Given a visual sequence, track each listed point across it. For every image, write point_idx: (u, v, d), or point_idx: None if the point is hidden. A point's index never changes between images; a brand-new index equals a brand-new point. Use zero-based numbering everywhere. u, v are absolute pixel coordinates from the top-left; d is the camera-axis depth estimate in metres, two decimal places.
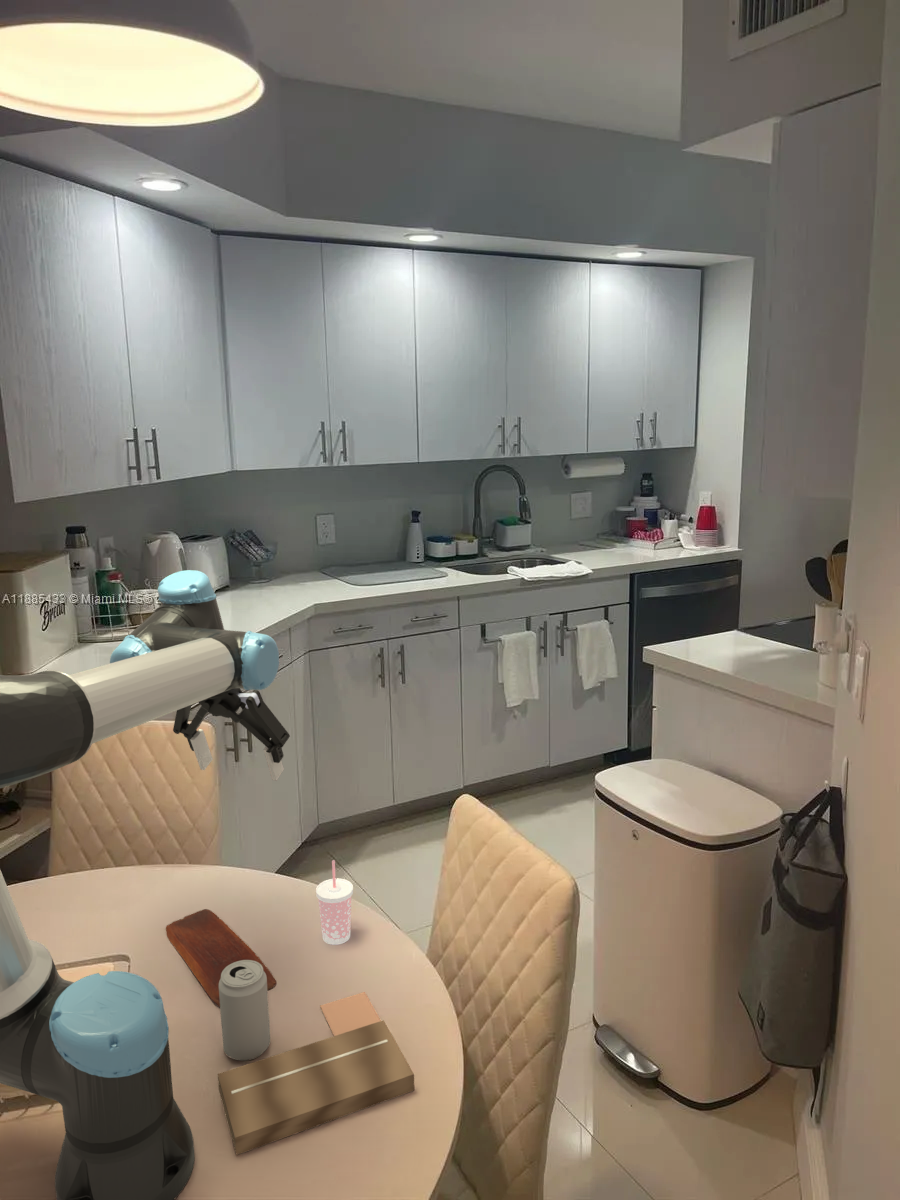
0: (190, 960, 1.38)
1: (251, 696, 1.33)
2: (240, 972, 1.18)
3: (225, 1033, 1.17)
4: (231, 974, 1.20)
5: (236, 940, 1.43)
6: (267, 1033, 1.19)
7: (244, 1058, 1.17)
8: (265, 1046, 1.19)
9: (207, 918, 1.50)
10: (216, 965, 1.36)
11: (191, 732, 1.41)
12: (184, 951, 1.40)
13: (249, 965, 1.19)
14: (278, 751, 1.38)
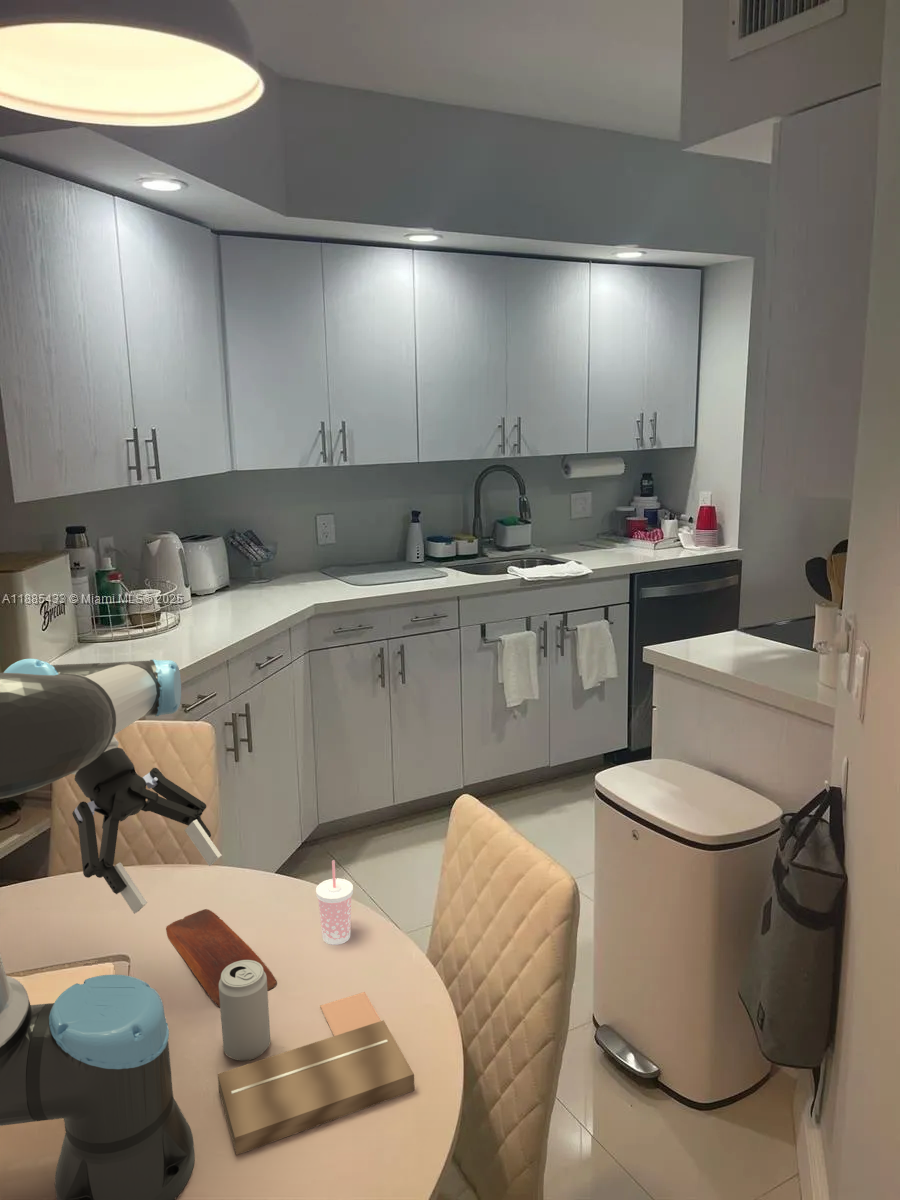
0: (190, 960, 1.38)
1: None
2: (240, 972, 1.18)
3: (225, 1033, 1.17)
4: (231, 974, 1.20)
5: (236, 940, 1.43)
6: (267, 1033, 1.19)
7: (244, 1058, 1.17)
8: (265, 1046, 1.19)
9: (207, 918, 1.50)
10: (217, 965, 1.36)
11: (113, 854, 1.16)
12: (184, 951, 1.40)
13: (249, 965, 1.19)
14: None
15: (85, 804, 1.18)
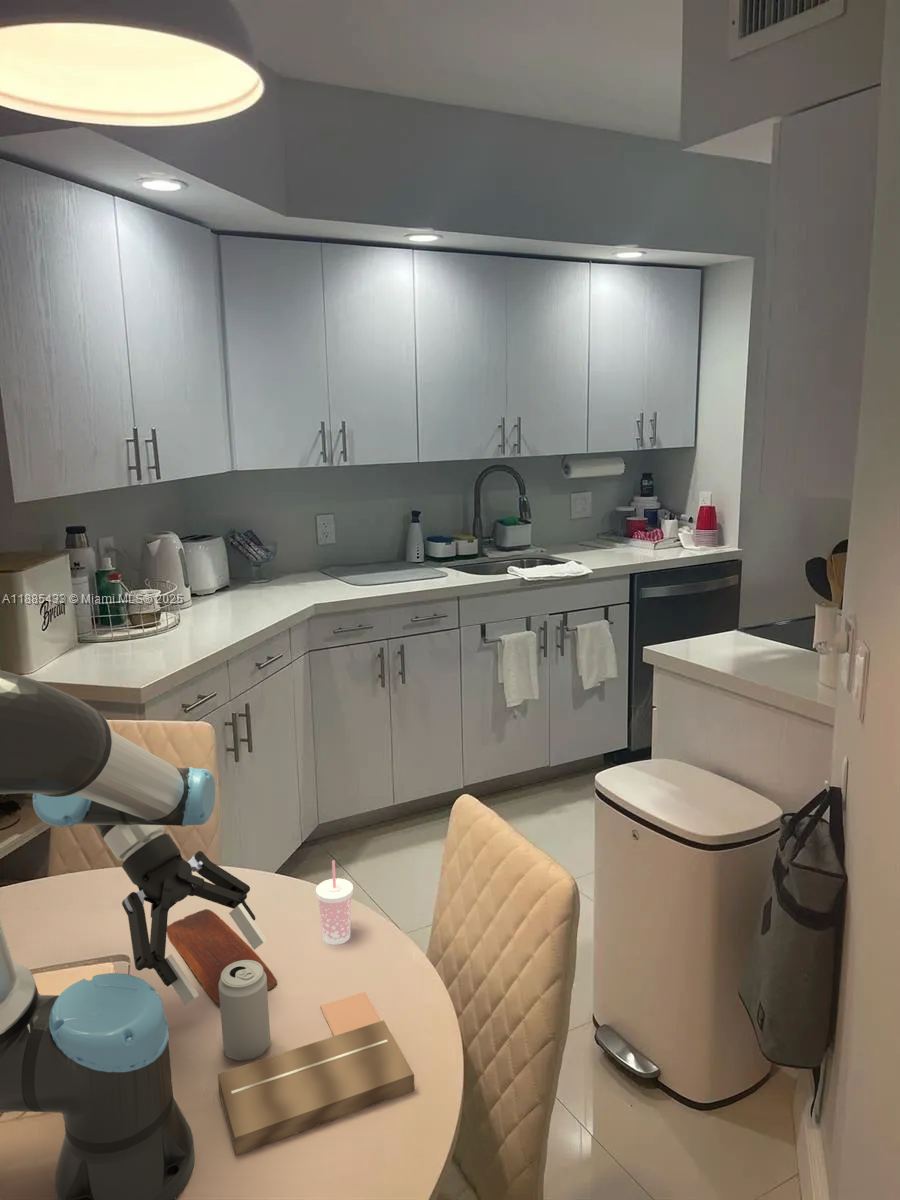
0: (191, 960, 1.38)
1: None
2: (240, 972, 1.18)
3: (225, 1033, 1.17)
4: (230, 974, 1.20)
5: (237, 940, 1.43)
6: (267, 1033, 1.19)
7: (244, 1058, 1.17)
8: (265, 1046, 1.19)
9: (208, 918, 1.50)
10: (217, 965, 1.36)
11: (164, 945, 1.17)
12: (185, 951, 1.40)
13: (249, 965, 1.19)
14: None
15: (135, 895, 1.18)
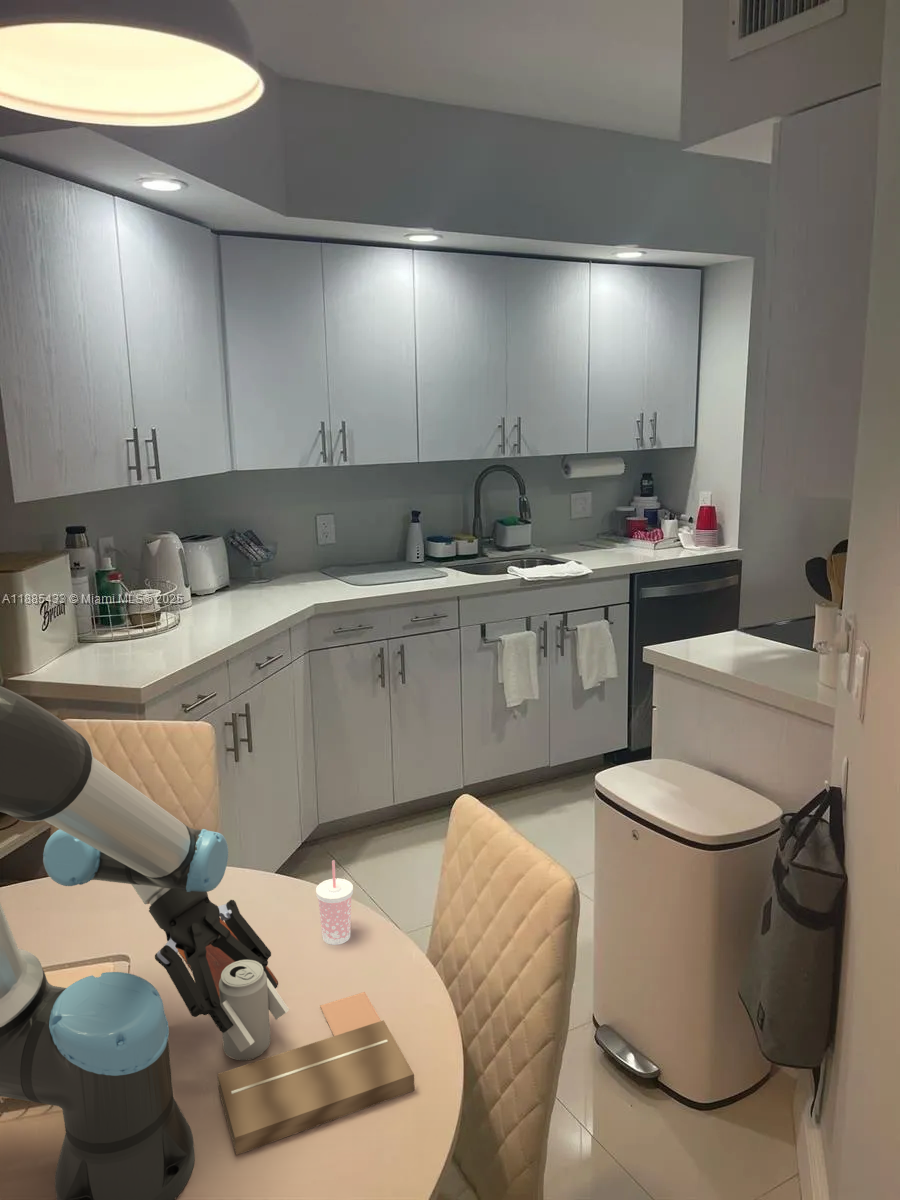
0: None
1: None
2: (240, 972, 1.18)
3: (225, 1032, 1.17)
4: (231, 974, 1.21)
5: None
6: (267, 1033, 1.19)
7: (244, 1058, 1.17)
8: (265, 1046, 1.19)
9: None
10: (218, 965, 1.36)
11: (215, 990, 1.16)
12: None
13: (249, 965, 1.19)
14: None
15: (168, 948, 1.15)
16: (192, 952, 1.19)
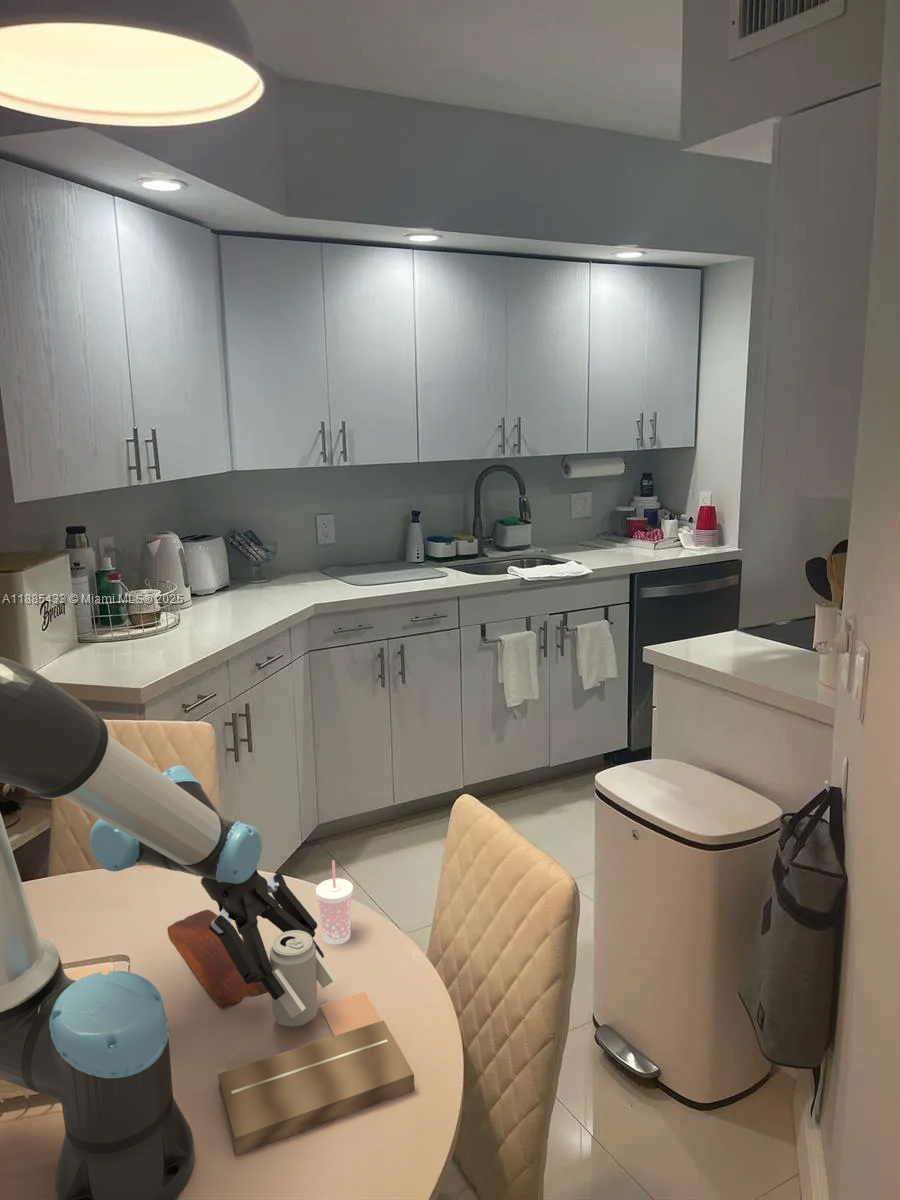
0: (192, 961, 1.38)
1: None
2: (290, 942, 1.22)
3: (275, 1000, 1.21)
4: (280, 944, 1.24)
5: None
6: (315, 1000, 1.23)
7: (294, 1024, 1.21)
8: (313, 1013, 1.23)
9: (208, 919, 1.50)
10: (218, 965, 1.36)
11: (267, 959, 1.20)
12: (186, 952, 1.40)
13: (298, 935, 1.23)
14: (315, 944, 1.27)
15: (222, 917, 1.19)
16: (243, 922, 1.22)
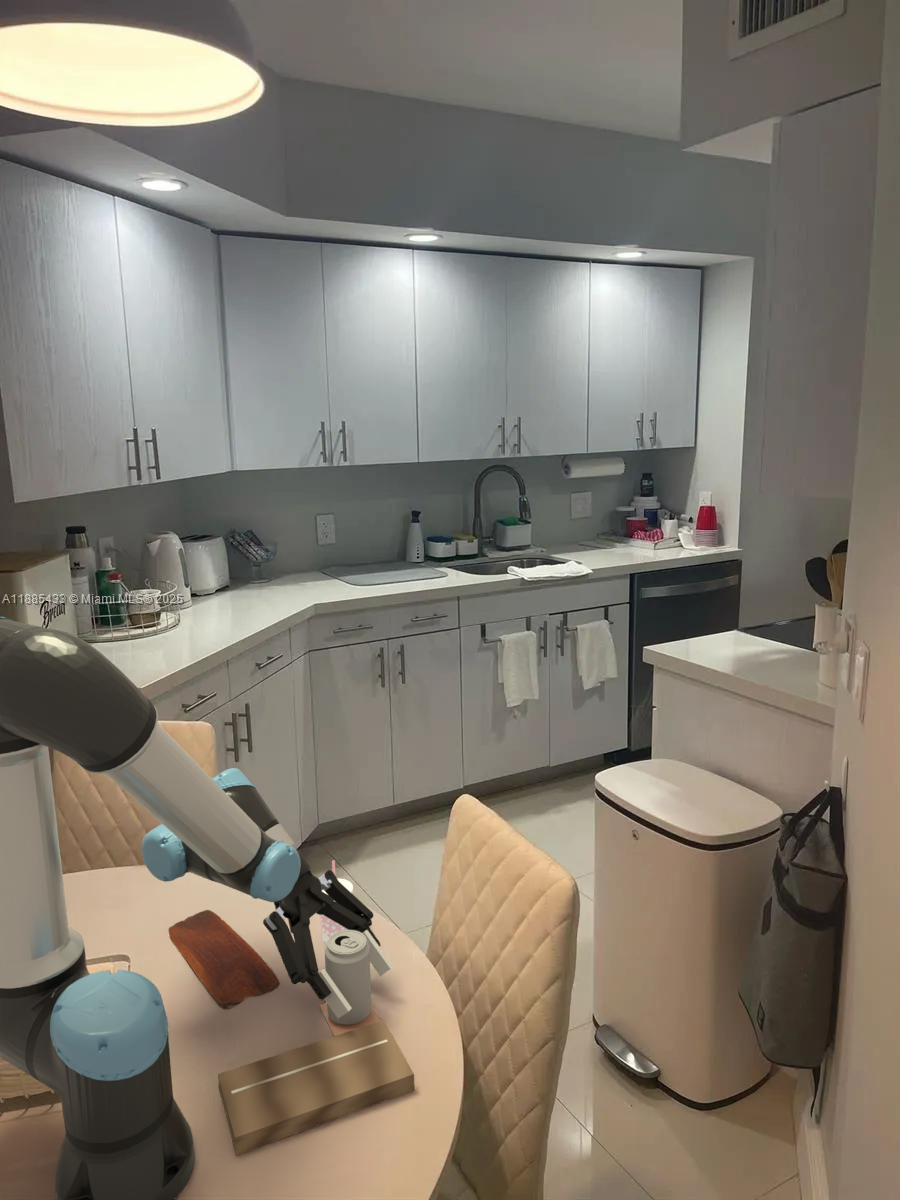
0: (193, 961, 1.38)
1: (326, 872, 1.32)
2: (345, 941, 1.24)
3: None
4: None
5: (238, 940, 1.43)
6: (369, 999, 1.25)
7: (349, 1022, 1.23)
8: (368, 1011, 1.25)
9: (209, 919, 1.49)
10: (219, 966, 1.36)
11: (314, 959, 1.21)
12: (186, 952, 1.40)
13: (352, 934, 1.25)
14: None
15: (276, 914, 1.21)
16: (296, 922, 1.24)
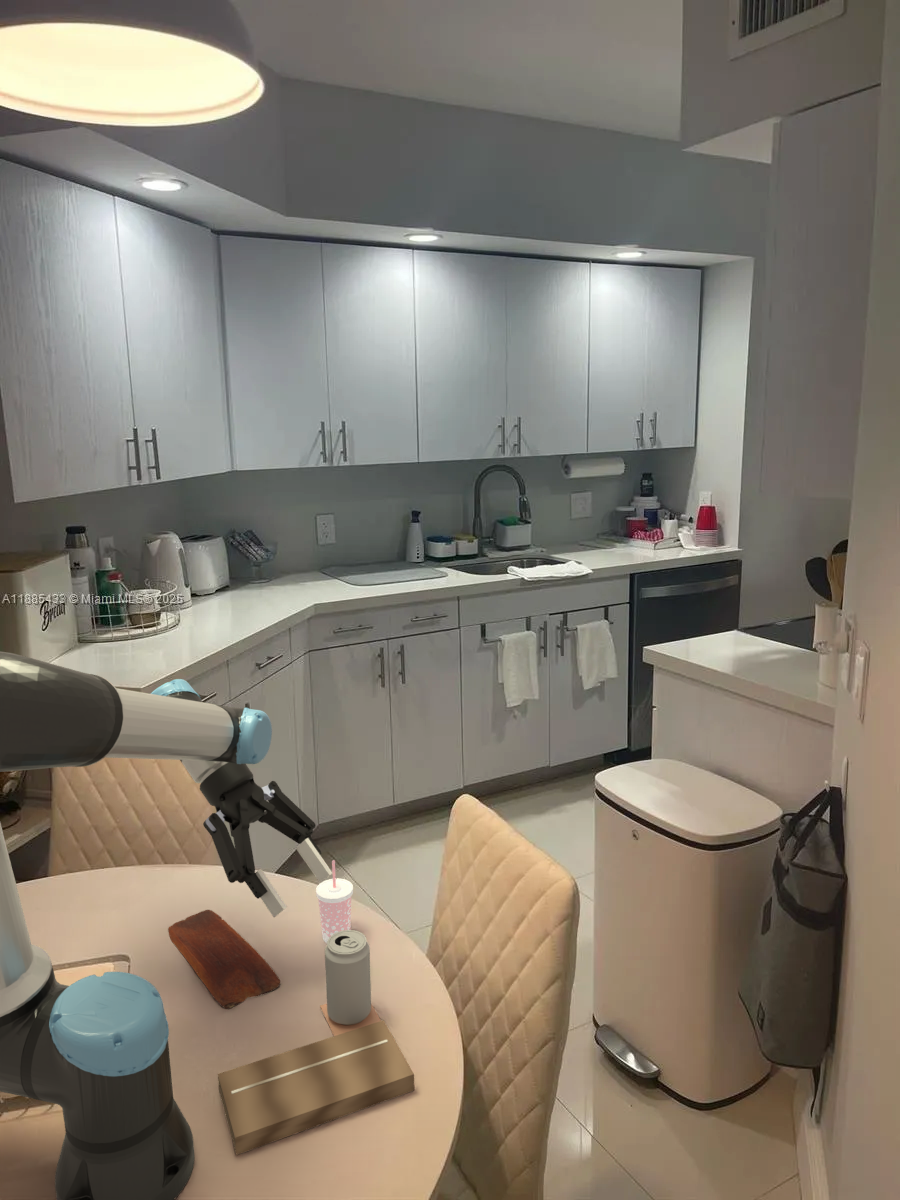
0: (193, 961, 1.38)
1: None
2: (345, 941, 1.24)
3: (331, 998, 1.23)
4: None
5: (239, 940, 1.43)
6: (369, 999, 1.25)
7: (349, 1022, 1.23)
8: (368, 1011, 1.25)
9: (209, 919, 1.49)
10: (220, 965, 1.36)
11: (252, 860, 1.24)
12: (187, 952, 1.40)
13: (352, 934, 1.25)
14: None
15: (216, 815, 1.24)
16: (237, 826, 1.27)
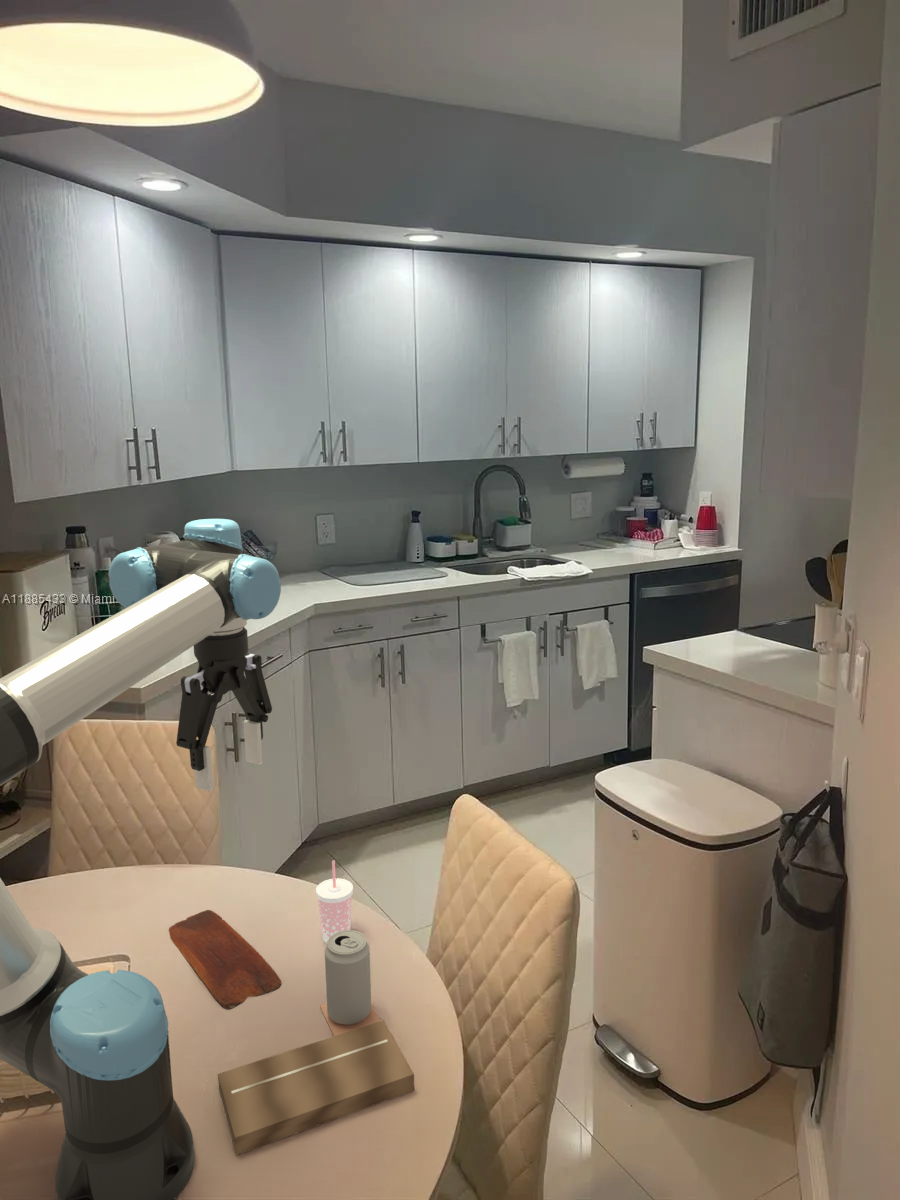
0: (194, 961, 1.38)
1: None
2: (345, 941, 1.24)
3: (331, 998, 1.23)
4: None
5: (240, 940, 1.43)
6: (369, 999, 1.25)
7: (349, 1022, 1.23)
8: (368, 1011, 1.25)
9: (210, 919, 1.49)
10: (221, 966, 1.36)
11: (206, 736, 1.21)
12: (188, 952, 1.40)
13: (352, 934, 1.25)
14: None
15: (198, 682, 1.19)
16: None
